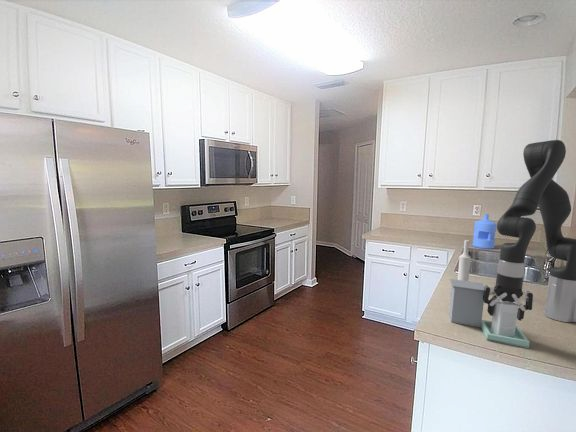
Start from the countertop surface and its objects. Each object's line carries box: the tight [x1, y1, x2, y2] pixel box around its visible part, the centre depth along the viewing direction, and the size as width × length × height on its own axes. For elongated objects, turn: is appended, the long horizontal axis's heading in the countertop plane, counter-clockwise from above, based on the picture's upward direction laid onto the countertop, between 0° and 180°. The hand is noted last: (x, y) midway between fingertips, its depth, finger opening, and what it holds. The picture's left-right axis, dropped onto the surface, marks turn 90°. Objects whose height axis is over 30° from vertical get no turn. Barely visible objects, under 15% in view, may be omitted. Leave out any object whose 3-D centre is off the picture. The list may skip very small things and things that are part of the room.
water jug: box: [472, 213, 497, 250], centre depth 255 cm, size 16×16×28 cm
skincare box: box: [491, 300, 519, 337], centre depth 108 cm, size 6×4×12 cm
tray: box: [480, 319, 531, 349], centre depth 109 cm, size 12×12×2 cm
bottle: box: [457, 239, 472, 281], centre depth 156 cm, size 5×5×25 cm
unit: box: [448, 278, 485, 328], centre depth 120 cm, size 11×9×15 cm
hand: (504, 317), depth 108 cm, fingers open, 8 cm apart
